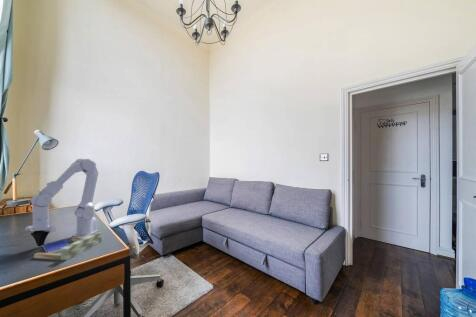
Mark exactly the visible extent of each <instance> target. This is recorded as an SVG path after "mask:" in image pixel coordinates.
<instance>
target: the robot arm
mask: <svg viewBox="0 0 476 317" xmlns="http://www.w3.org/2000/svg"><path fill="white" fill-rule="evenodd" d="M80 172H83V174H85V175H86V178H85V183H84V187H83V190H82V191H83V192H82V195H81V199H80V200H81V201H80V203H79V204H78V205H77V208H76V209H75V210H74V215H75V217H76V233H75V234H73V235H72V236H71V238H72V237H87V236H89V235H91V234H93V233H95V232H99V230H98V219H97V218H96V217H94V216H95V210H94V209H95V206H94V203H93V201H94V196H95V193H96V192H95V191H96V187H97V182H98V178H99V177H98V176H99V171H98V168H97V163H96V162H95V161H94V160H93V159H91V158H79V159H75V161H74V162H73V163H71V164H70V166H69V167H68V168H67V169H66V170H65V171H64V172H63V173H62V174H61V175H60V176H59V177H58V178H57V179H55V180H52V181H50V182H47V183H46V186H45V187H44V188H43V189H41V190H39V191H37V194H34V195H33V197H31V199H30V203H31V204H32V225H28V226H26V227H25V232H28V231H30V232H31V233H30V235H31V237H33V239H34V241H35V243H36V246H37V247H41V246H42V247H43V245H44V244H45V241H46V239H47V237H48V235H49V234H50V233H53V232H56V231H57V227H56V226H53V225H50V224H49V223H50V204H51V203H52V199H54V197H55V196H56V195H57V194H58V193H59V192H60V191H61V190H62V189H63V188H64V184H65V183H66V182H67V181H68V180H69V179H71V177H72V176H74V175H75V174H76V173H80Z"/></svg>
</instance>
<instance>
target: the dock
mask: <svg viewBox="0 0 476 317" xmlns="http://www.w3.org/2000/svg"><path fill="white" fill-rule="evenodd" d="M70 241H71V242H72V243H70V244H69V245H67V246H65V247H63V248H61V251H60V253H57V252H56V253H46V252H39V251H38V252H36V253H34V254H33V258H34V259H43V260H60V261H69V260H70V259H72V258H74V257H76V256H78V255H79V254H81V253H83V252H86V251H87V250H88V249H90V248H92V247H94V246H96V245H98V244H100V243H101V242H102V231H97V232H95V233H93V234H91V235H89V236H86V237H72V236H71V240H70Z"/></svg>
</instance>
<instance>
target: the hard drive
mask: <svg viewBox="0 0 476 317" xmlns="http://www.w3.org/2000/svg"><path fill="white" fill-rule="evenodd" d="M67 245H70V244H69V243H68V241H67V240H66V239H59V240H55V241H52V242H51V241H50V242H47V243H44V245H42V248H43V249H44V251H45V253H56V254H57V253H59V252H61V248H63V247H65V246H67Z"/></svg>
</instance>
